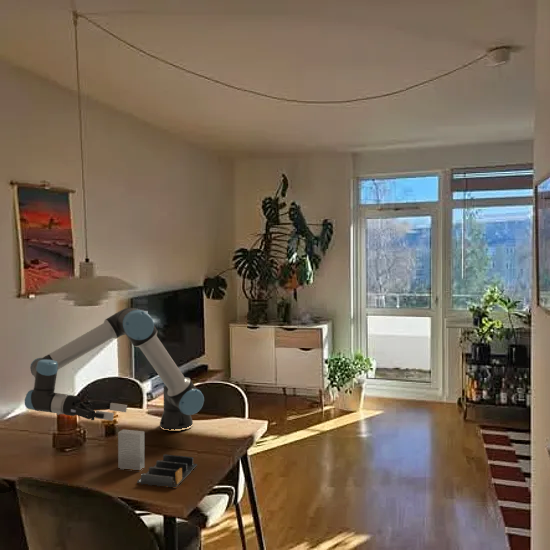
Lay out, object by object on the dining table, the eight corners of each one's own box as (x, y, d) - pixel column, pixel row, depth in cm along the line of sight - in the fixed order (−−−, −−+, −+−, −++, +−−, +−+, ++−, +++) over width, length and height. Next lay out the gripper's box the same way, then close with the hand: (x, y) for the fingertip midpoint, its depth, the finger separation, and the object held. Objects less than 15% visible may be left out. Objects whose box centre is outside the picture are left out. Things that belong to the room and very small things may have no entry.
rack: (160, 462, 205) (160, 450, 204) (196, 466, 201) (197, 453, 201) (137, 483, 186) (137, 469, 186) (176, 488, 183) (176, 474, 182)
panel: (123, 465, 202) (122, 429, 201) (144, 467, 200) (144, 431, 199) (118, 468, 199) (118, 432, 198) (140, 471, 196) (139, 434, 196)
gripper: (79, 407, 214) (130, 414, 213) (48, 422, 189) (105, 431, 188) (82, 389, 214) (132, 396, 213) (51, 401, 190) (108, 410, 188)
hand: (120, 412), depth 200 cm, fingers open, 13 cm apart
